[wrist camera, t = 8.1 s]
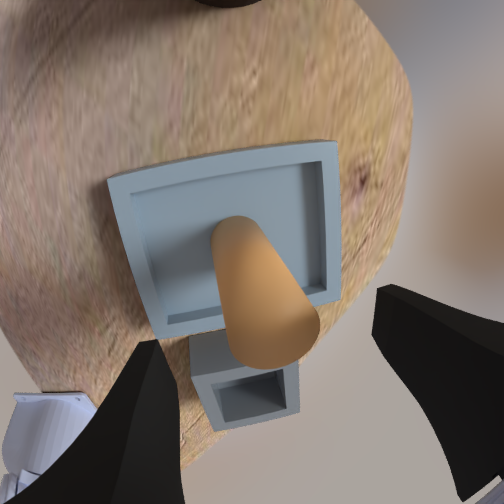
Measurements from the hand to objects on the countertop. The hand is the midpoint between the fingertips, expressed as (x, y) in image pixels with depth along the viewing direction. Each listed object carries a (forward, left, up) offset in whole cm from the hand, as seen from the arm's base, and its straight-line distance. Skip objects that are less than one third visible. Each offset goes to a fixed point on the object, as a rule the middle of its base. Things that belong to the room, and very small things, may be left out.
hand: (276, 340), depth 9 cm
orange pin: (0, 0, -9) cm, 9 cm away
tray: (0, 0, -10) cm, 10 cm away
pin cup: (-1, -10, -10) cm, 14 cm away
